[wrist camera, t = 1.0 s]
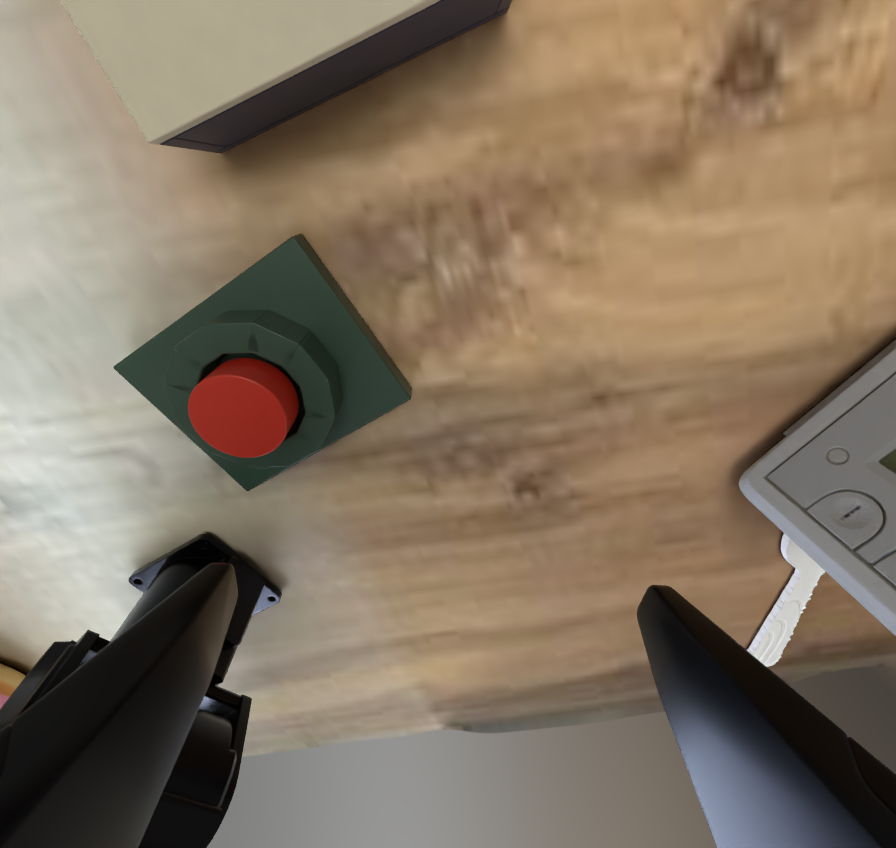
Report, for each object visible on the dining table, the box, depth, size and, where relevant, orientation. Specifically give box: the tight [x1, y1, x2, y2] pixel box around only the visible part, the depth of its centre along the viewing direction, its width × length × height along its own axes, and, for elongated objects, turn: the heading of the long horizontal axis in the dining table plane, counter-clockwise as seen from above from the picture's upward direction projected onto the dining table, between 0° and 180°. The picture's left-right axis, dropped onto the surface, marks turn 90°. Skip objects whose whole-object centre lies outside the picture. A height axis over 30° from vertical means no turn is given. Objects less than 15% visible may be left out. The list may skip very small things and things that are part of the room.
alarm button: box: [188, 358, 299, 458], centre depth 17 cm, size 4×4×2 cm
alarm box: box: [114, 234, 412, 491], centre depth 18 cm, size 10×8×3 cm
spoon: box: [747, 533, 825, 667], centre depth 28 cm, size 5×18×1 cm, turn 2°
